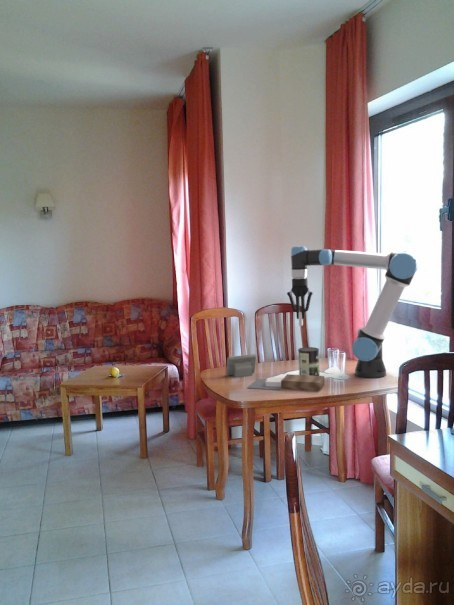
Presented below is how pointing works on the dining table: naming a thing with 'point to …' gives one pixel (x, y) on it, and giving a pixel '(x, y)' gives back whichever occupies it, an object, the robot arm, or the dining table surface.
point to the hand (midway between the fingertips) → (301, 325)
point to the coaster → (274, 382)
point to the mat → (262, 385)
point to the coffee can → (309, 361)
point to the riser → (302, 382)
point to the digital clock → (241, 365)
